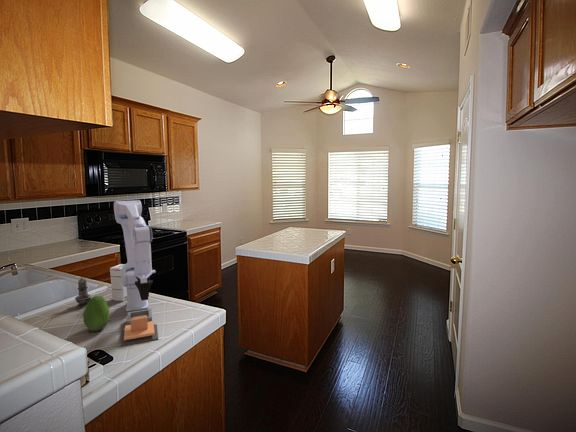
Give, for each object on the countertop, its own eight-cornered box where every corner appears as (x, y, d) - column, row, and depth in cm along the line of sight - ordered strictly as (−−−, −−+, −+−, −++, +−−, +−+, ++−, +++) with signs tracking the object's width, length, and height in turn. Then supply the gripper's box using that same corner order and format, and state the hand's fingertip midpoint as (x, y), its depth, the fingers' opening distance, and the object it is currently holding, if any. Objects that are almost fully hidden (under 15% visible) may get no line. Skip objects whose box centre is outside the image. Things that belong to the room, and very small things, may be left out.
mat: (122, 331, 111) (122, 329, 111) (156, 325, 115) (156, 324, 115) (120, 346, 101) (120, 345, 101) (158, 339, 106) (158, 338, 105)
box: (128, 320, 119) (127, 312, 119) (151, 316, 123) (151, 308, 122) (127, 329, 112) (126, 321, 112) (152, 325, 115) (151, 317, 115)
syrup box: (123, 301, 136) (121, 268, 134) (111, 300, 137) (109, 267, 136) (132, 296, 142) (131, 264, 140) (121, 295, 143) (119, 263, 141)
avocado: (115, 324, 115) (113, 292, 114) (99, 335, 108) (97, 301, 106) (95, 323, 117) (92, 291, 115) (78, 333, 109) (75, 299, 107)
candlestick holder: (81, 302, 135) (79, 274, 134) (95, 302, 135) (93, 274, 133) (72, 308, 129) (69, 279, 128) (86, 308, 129) (84, 279, 128)
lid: (125, 330, 110) (124, 314, 110) (153, 325, 114) (153, 310, 113) (124, 343, 102) (123, 326, 102) (154, 337, 106) (154, 320, 105)
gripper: (155, 263, 111) (157, 301, 113) (154, 254, 124) (155, 288, 126) (132, 266, 108) (135, 304, 110) (133, 256, 121) (135, 290, 123)
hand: (144, 296), depth 118 cm, fingers open, 7 cm apart
